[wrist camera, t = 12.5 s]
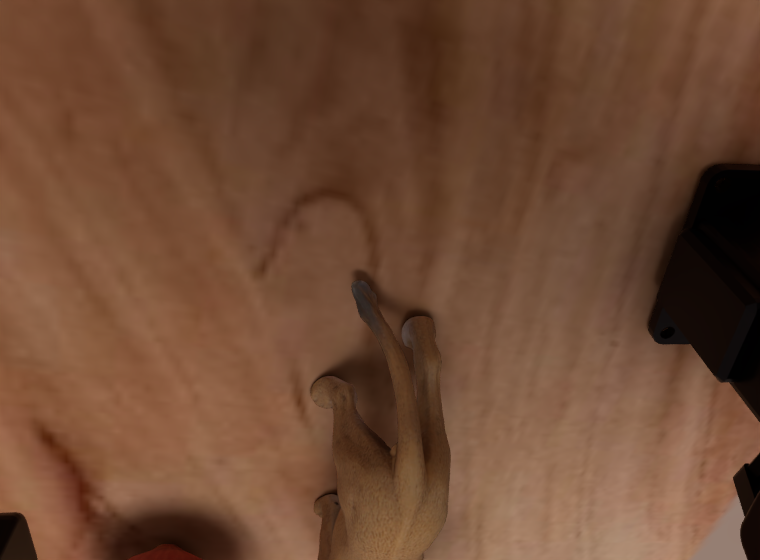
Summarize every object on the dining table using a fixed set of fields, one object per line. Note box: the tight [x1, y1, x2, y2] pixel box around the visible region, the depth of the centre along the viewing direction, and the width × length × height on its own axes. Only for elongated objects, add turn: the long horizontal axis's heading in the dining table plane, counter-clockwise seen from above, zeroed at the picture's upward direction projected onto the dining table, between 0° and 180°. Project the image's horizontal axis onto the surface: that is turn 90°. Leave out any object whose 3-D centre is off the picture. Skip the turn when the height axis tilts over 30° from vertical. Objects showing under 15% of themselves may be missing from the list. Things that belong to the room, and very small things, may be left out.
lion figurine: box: [310, 280, 451, 560], centre depth 23 cm, size 15×5×9 cm, turn 4°
